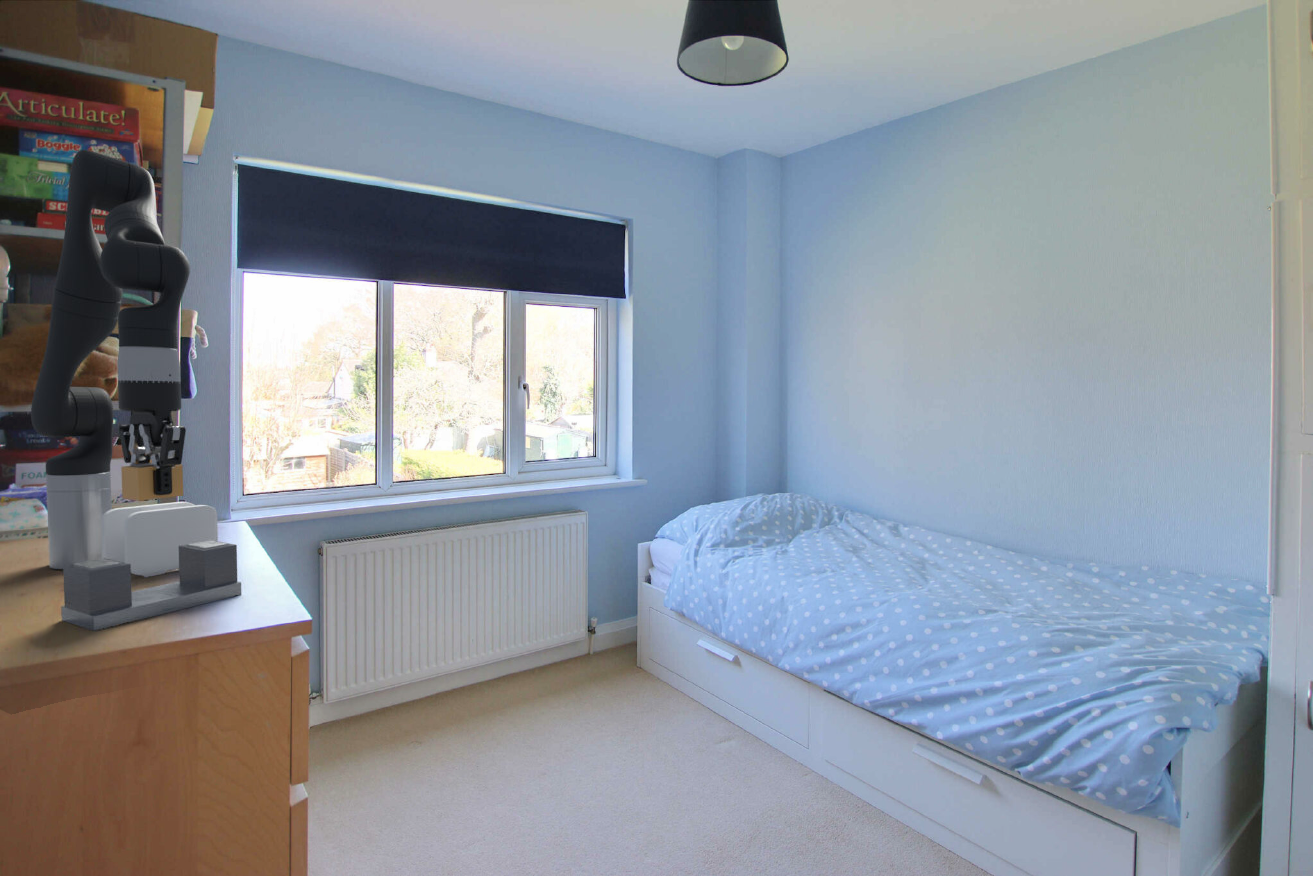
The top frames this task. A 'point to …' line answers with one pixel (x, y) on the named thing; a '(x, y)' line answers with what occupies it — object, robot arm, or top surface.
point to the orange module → (147, 482)
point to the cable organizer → (155, 534)
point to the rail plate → (107, 600)
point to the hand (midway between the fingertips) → (153, 492)
